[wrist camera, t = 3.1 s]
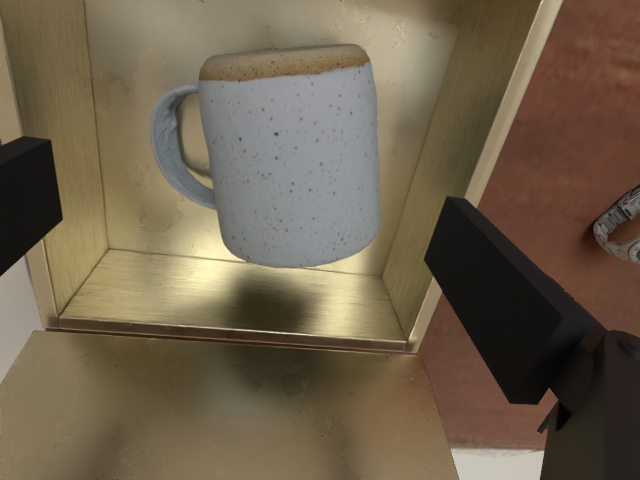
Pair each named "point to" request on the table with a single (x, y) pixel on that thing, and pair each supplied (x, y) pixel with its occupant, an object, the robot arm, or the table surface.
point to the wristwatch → (626, 208)
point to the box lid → (215, 412)
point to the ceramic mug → (283, 152)
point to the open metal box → (175, 209)
